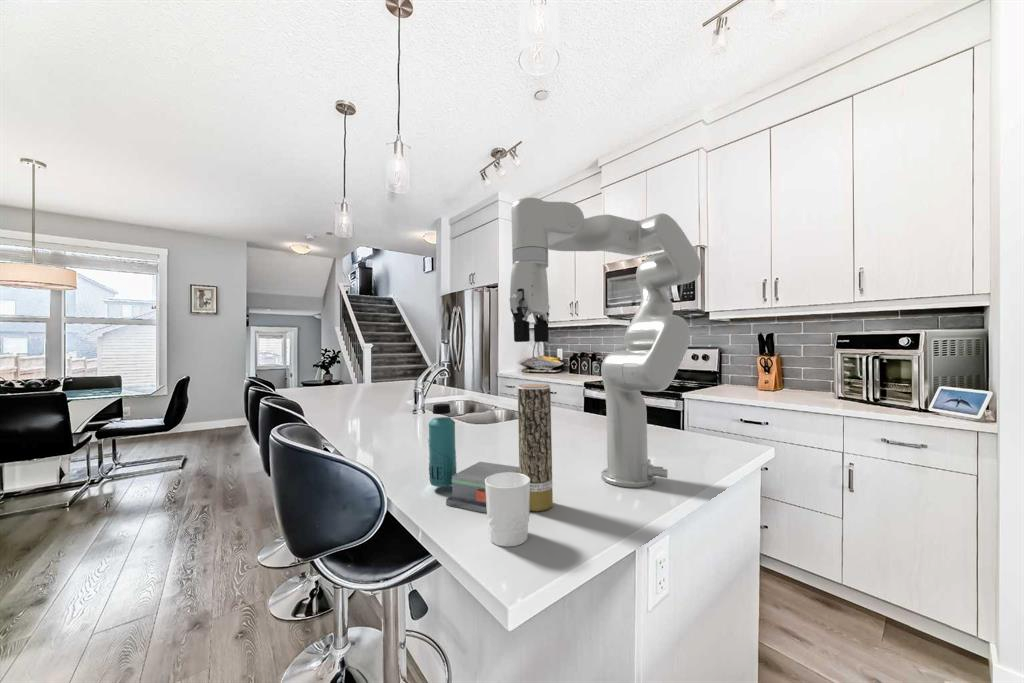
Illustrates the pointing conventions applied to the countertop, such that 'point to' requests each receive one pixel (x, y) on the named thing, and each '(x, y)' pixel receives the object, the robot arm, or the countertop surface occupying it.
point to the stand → (474, 485)
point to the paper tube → (536, 442)
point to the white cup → (507, 508)
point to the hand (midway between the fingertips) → (532, 341)
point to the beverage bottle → (442, 447)
